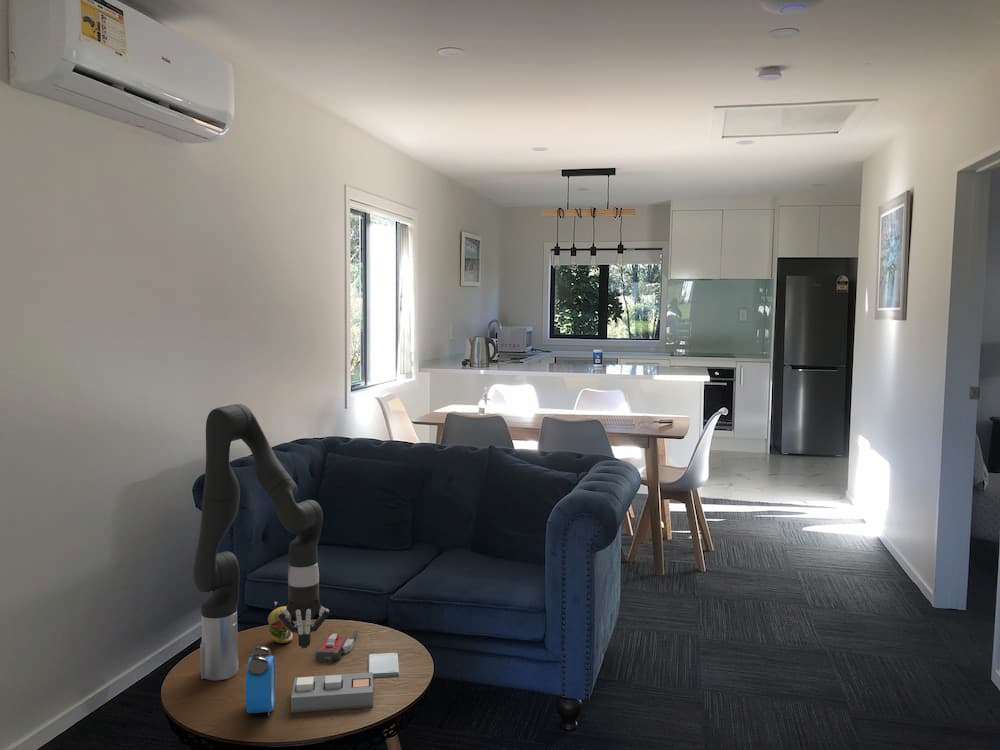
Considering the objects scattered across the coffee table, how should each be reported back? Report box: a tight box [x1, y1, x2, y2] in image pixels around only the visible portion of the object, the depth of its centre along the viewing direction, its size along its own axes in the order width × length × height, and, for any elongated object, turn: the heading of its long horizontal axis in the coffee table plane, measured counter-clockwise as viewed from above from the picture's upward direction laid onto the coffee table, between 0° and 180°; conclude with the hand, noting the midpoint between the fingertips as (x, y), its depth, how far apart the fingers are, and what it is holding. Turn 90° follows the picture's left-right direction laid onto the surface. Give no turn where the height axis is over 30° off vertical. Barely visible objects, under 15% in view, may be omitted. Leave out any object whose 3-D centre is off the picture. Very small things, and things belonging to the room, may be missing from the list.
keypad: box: [290, 671, 374, 713], centre depth 205 cm, size 20×11×4 cm, turn 99°
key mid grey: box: [325, 674, 342, 690], centre depth 205 cm, size 4×4×3 cm
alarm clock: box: [245, 644, 276, 717], centre depth 199 cm, size 13×6×15 cm, turn 11°
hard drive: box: [368, 652, 400, 678], centre depth 224 cm, size 2×8×12 cm
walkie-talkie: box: [315, 630, 359, 662], centre depth 236 cm, size 9×4×20 cm
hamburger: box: [267, 601, 294, 644], centre depth 240 cm, size 8×7×12 cm
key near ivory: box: [296, 676, 314, 692], centre depth 204 cm, size 4×4×3 cm
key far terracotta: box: [353, 679, 369, 688], centre depth 206 cm, size 4×4×3 cm
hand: (304, 647), depth 203 cm, fingers closed
